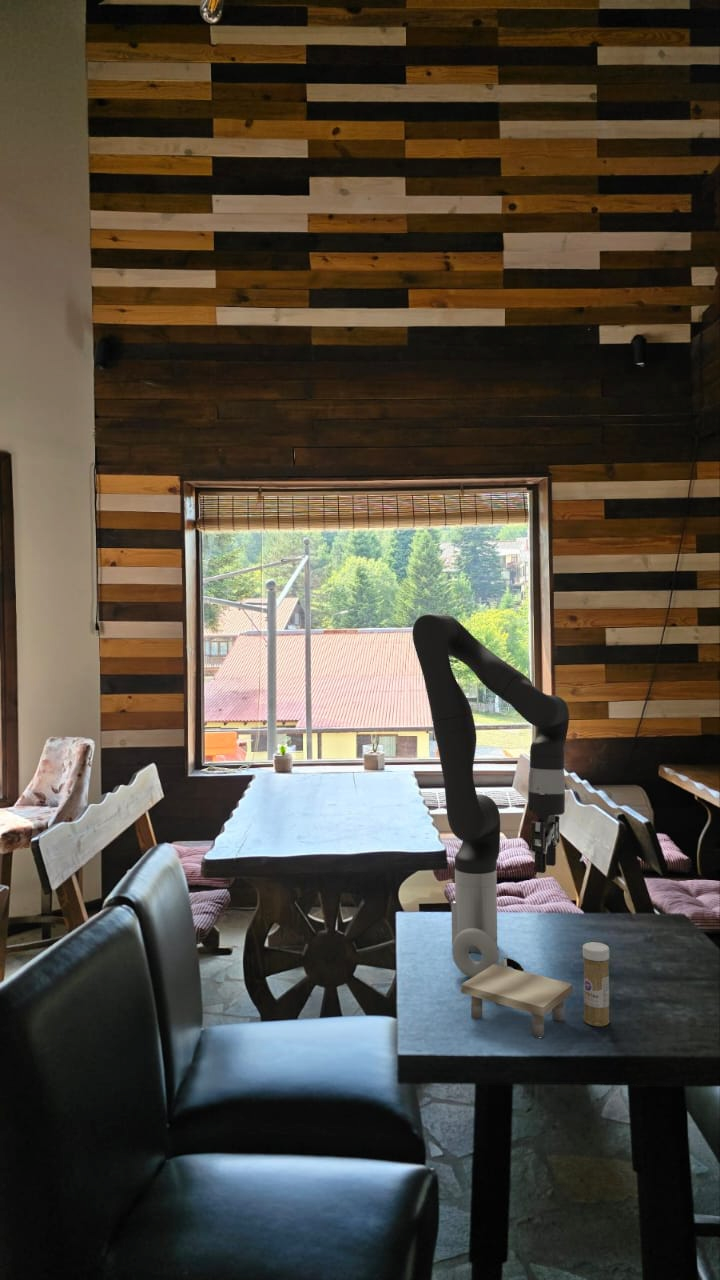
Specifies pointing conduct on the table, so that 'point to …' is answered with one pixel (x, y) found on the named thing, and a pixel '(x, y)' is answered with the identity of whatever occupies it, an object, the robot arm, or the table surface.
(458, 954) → the donut
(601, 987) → the sprinkles bottle
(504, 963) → the watch
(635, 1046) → the table surface
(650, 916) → the table surface
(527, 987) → the small wooden stool
